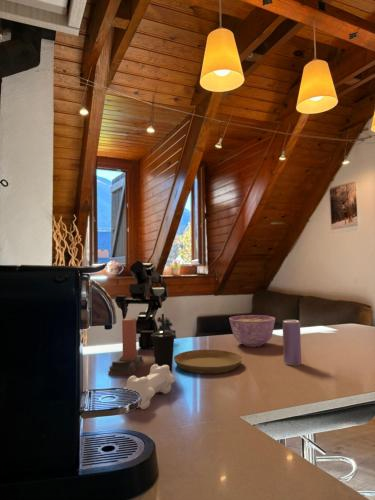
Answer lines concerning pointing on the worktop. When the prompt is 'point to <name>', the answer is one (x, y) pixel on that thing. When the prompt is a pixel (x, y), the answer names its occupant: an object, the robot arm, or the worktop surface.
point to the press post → (129, 340)
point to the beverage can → (291, 342)
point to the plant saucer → (207, 361)
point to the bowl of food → (252, 329)
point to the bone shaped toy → (151, 383)
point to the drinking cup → (163, 346)
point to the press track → (125, 366)
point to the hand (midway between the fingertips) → (134, 319)
